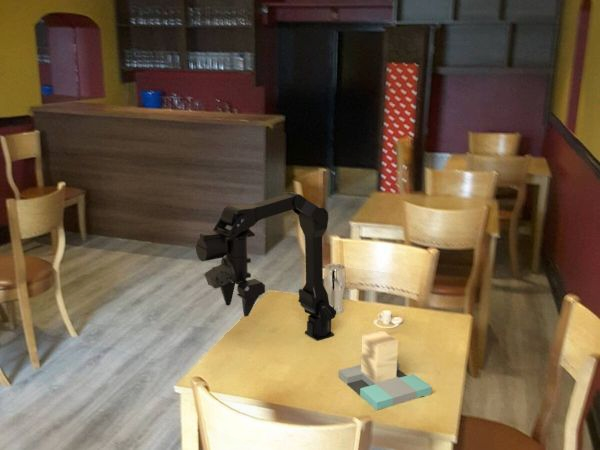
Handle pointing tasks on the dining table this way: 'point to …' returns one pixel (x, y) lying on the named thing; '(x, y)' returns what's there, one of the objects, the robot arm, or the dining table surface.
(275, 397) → the dining table surface
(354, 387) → the board
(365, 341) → the maple block
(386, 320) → the teacup and saucer
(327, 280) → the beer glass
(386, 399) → the mint green slab
